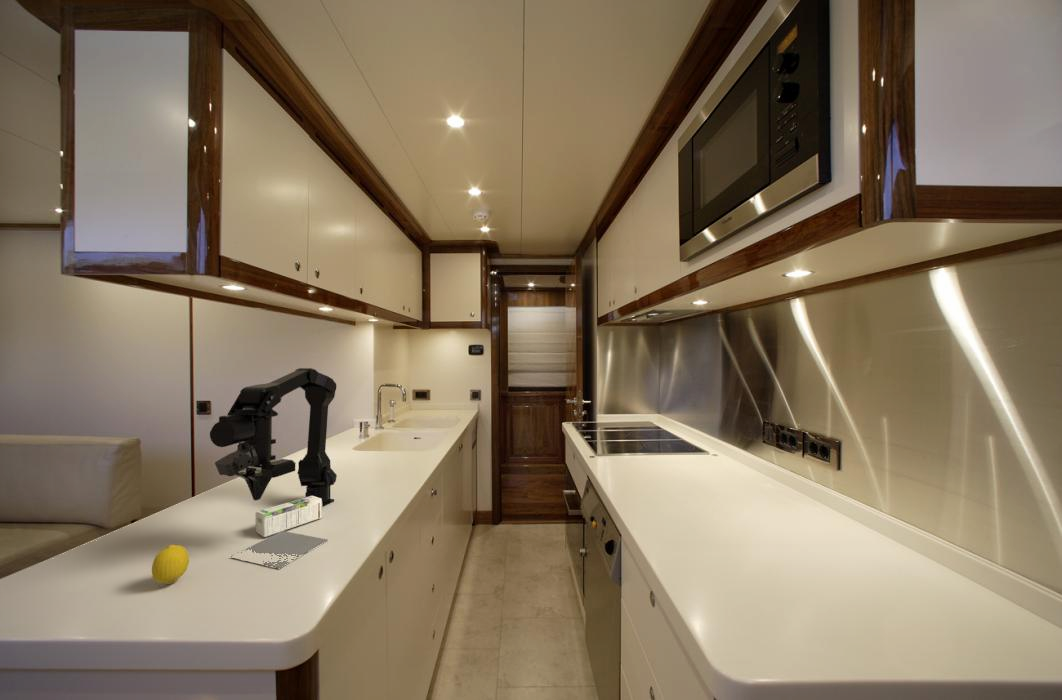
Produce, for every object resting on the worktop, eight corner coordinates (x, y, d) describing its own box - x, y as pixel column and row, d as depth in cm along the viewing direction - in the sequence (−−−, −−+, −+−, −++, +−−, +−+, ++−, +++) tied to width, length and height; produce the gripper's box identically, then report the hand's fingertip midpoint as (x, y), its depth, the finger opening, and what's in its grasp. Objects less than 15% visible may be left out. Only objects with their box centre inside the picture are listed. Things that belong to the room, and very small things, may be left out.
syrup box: (255, 511, 98) (313, 493, 110) (255, 533, 98) (313, 514, 110) (263, 515, 95) (322, 497, 107) (264, 538, 95) (323, 517, 107)
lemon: (146, 595, 73) (146, 554, 73) (158, 580, 78) (158, 541, 78) (183, 587, 75) (183, 548, 76) (192, 573, 80) (193, 536, 80)
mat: (282, 532, 99) (282, 530, 99) (327, 541, 94) (327, 539, 94) (230, 558, 86) (230, 556, 86) (279, 569, 82) (279, 567, 82)
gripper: (194, 441, 88) (193, 507, 88) (252, 447, 82) (251, 518, 82) (243, 431, 99) (242, 490, 98) (297, 437, 93) (296, 499, 93)
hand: (256, 499), depth 93 cm, fingers closed
